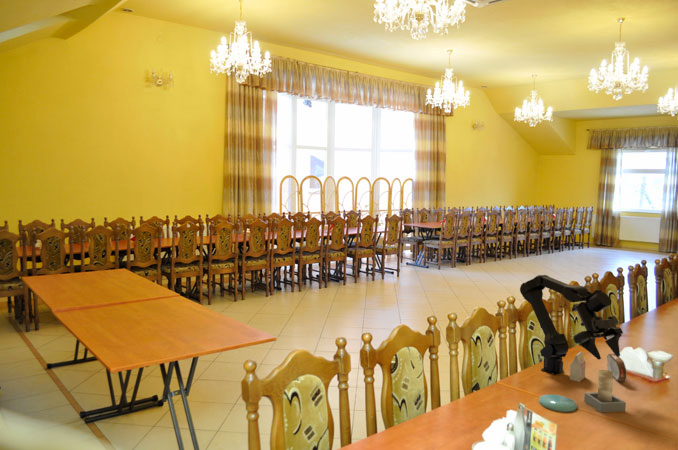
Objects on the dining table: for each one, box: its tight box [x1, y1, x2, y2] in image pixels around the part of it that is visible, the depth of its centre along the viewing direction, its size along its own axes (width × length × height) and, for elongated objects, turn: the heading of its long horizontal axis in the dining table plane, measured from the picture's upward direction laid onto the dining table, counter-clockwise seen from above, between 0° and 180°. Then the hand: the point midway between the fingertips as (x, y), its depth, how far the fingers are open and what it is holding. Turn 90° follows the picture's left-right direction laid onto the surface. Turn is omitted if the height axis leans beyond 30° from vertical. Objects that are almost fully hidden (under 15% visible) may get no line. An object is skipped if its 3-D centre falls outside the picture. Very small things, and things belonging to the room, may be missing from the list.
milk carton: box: [569, 351, 587, 383], centre depth 198 cm, size 4×7×10 cm, turn 138°
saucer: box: [538, 394, 578, 413], centre depth 174 cm, size 12×12×1 cm
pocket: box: [583, 391, 627, 413], centre depth 173 cm, size 9×9×3 cm
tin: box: [606, 353, 627, 382], centre depth 200 cm, size 15×3×8 cm, turn 168°
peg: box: [597, 369, 614, 402], centre depth 173 cm, size 4×4×12 cm
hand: (609, 357), depth 181 cm, fingers open, 9 cm apart
